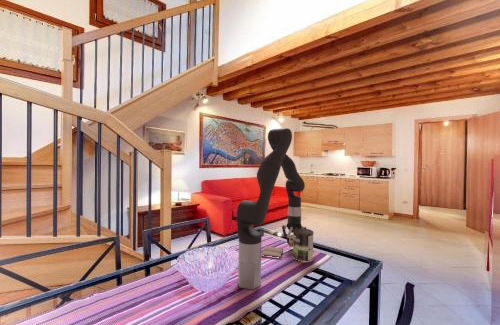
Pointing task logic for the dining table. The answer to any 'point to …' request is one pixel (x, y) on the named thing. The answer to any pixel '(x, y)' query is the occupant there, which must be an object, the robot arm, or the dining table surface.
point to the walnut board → (272, 252)
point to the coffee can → (303, 244)
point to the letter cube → (291, 240)
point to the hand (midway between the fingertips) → (293, 244)
